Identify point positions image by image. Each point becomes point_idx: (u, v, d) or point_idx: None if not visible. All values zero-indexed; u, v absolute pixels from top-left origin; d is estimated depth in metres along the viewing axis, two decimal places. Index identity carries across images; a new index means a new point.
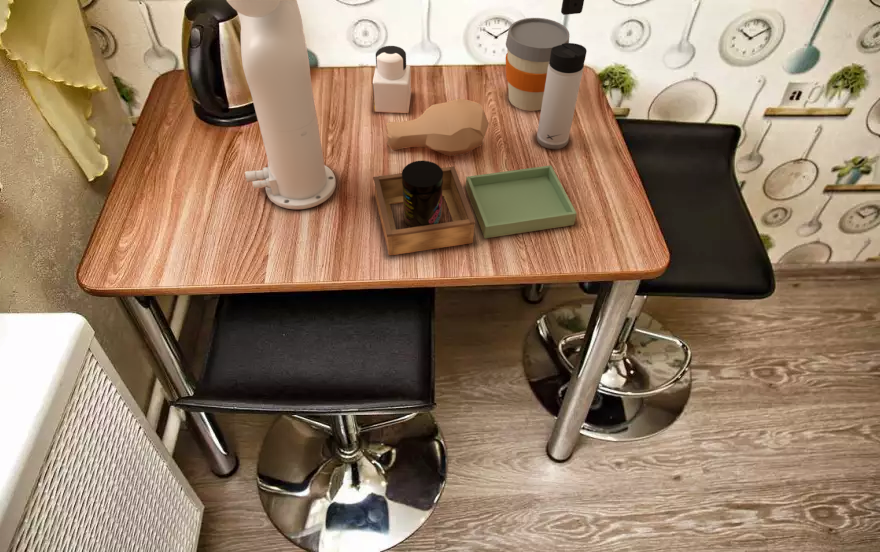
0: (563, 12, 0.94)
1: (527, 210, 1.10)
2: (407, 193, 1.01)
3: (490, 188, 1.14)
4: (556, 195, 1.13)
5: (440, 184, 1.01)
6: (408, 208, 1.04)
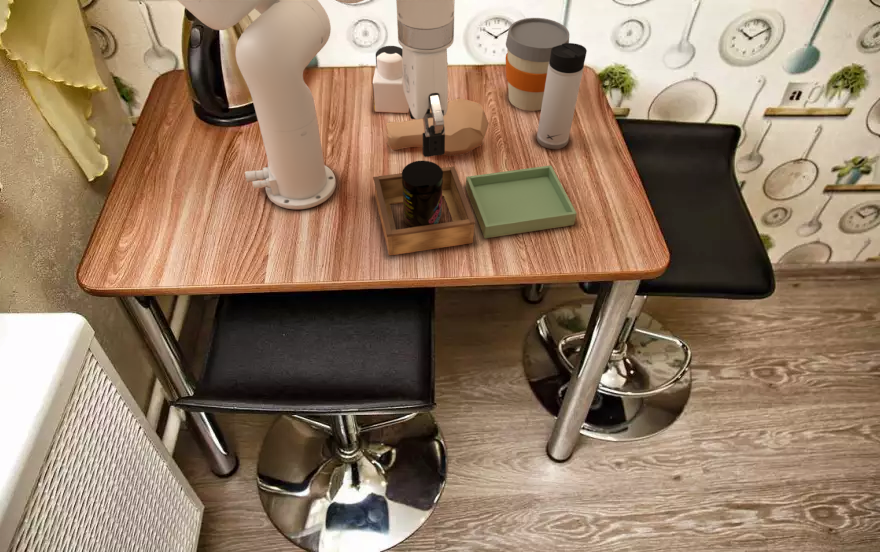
0: (424, 155, 0.92)
1: (527, 210, 1.10)
2: (407, 193, 1.01)
3: (490, 188, 1.14)
4: (556, 195, 1.13)
5: (440, 184, 1.01)
6: (408, 208, 1.04)
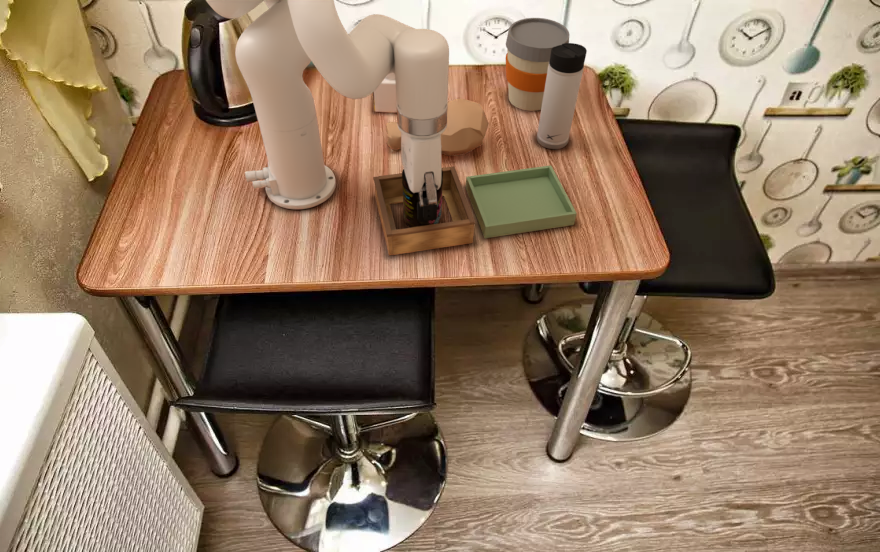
0: (419, 220, 1.03)
1: (527, 210, 1.10)
2: (407, 193, 1.01)
3: (490, 188, 1.14)
4: (556, 195, 1.13)
5: None
6: (408, 208, 1.04)
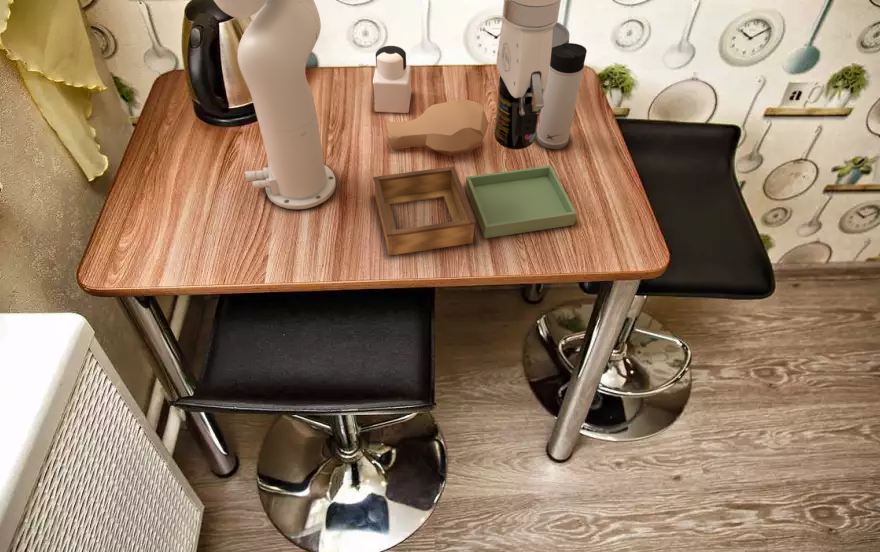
0: (516, 134, 0.94)
1: (527, 210, 1.10)
2: (505, 102, 0.92)
3: (490, 188, 1.14)
4: (556, 195, 1.13)
5: None
6: (503, 121, 0.95)
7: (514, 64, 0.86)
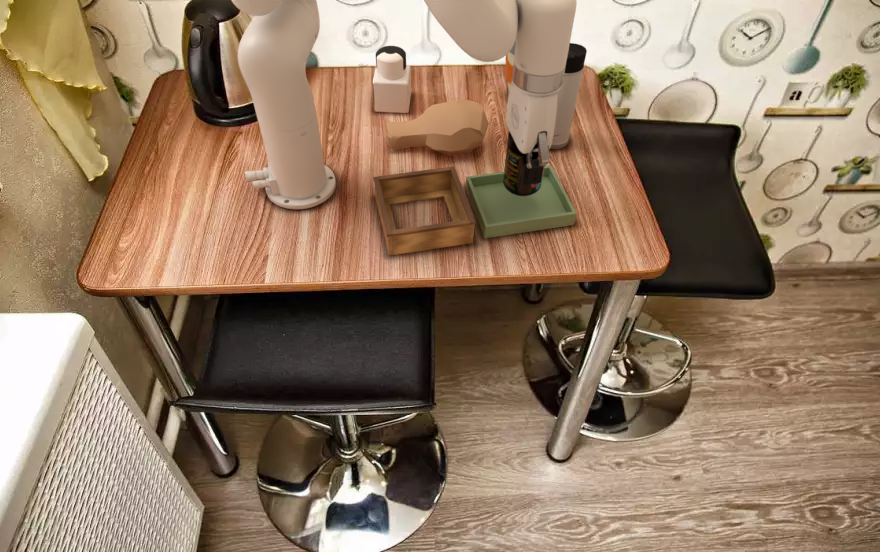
0: (523, 183, 1.02)
1: (527, 210, 1.10)
2: (513, 155, 1.00)
3: (490, 188, 1.14)
4: (556, 195, 1.13)
5: None
6: (511, 171, 1.03)
7: (522, 124, 0.94)
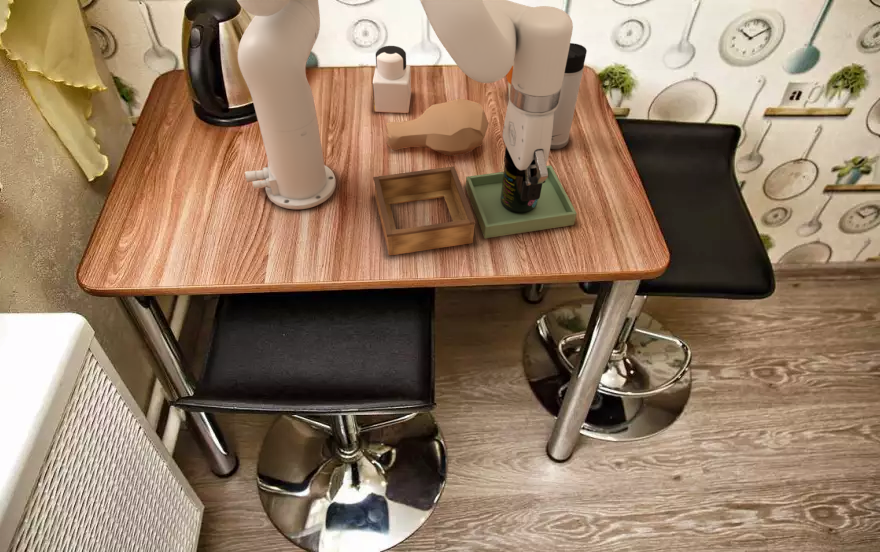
0: (522, 199, 1.03)
1: None
2: (510, 175, 1.03)
3: (490, 188, 1.14)
4: (556, 195, 1.13)
5: None
6: (508, 190, 1.06)
7: (519, 142, 0.96)
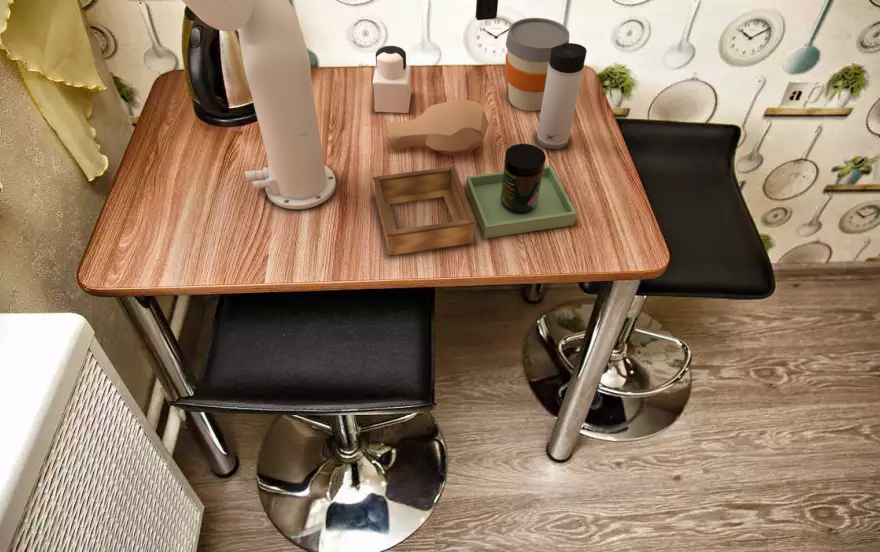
0: (477, 18, 0.94)
1: None
2: (510, 175, 1.03)
3: (490, 188, 1.14)
4: (556, 195, 1.13)
5: (543, 166, 1.03)
6: (508, 190, 1.06)
7: None
